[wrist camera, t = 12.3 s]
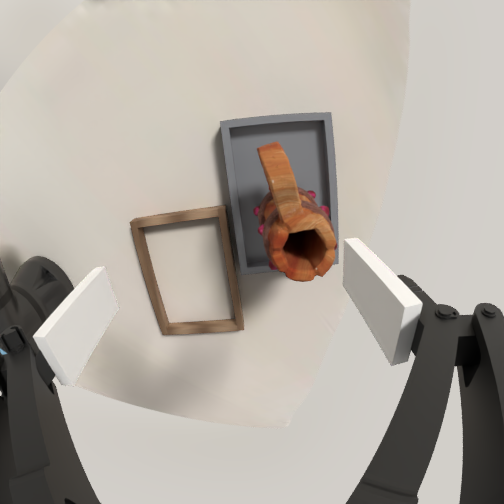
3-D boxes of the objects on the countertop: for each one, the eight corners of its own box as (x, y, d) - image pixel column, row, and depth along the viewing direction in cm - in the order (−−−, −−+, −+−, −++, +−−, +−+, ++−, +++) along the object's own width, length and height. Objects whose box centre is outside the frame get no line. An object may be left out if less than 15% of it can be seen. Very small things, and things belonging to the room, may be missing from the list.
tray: (241, 265, 43) (241, 274, 40) (222, 122, 35) (219, 121, 33) (333, 255, 43) (338, 263, 40) (325, 114, 35) (331, 112, 32)
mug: (322, 234, 40) (357, 284, 26) (268, 251, 41) (277, 310, 27) (292, 133, 35) (320, 130, 21) (233, 152, 36) (223, 160, 22)
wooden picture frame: (165, 327, 48) (162, 334, 46) (134, 218, 40) (129, 222, 38) (244, 322, 47) (243, 330, 45) (225, 205, 40) (224, 208, 38)
